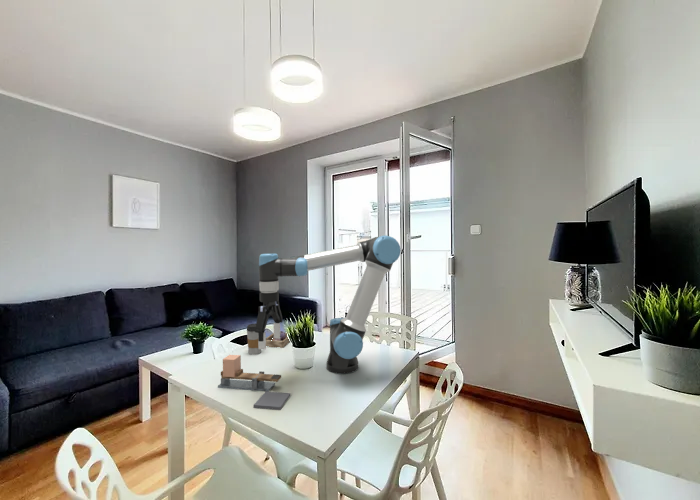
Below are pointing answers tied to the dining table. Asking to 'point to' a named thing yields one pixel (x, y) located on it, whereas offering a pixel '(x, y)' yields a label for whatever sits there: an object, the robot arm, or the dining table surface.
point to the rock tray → (276, 343)
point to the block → (231, 365)
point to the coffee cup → (252, 340)
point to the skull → (282, 337)
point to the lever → (254, 376)
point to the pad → (272, 400)
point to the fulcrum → (246, 384)
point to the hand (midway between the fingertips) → (270, 343)
